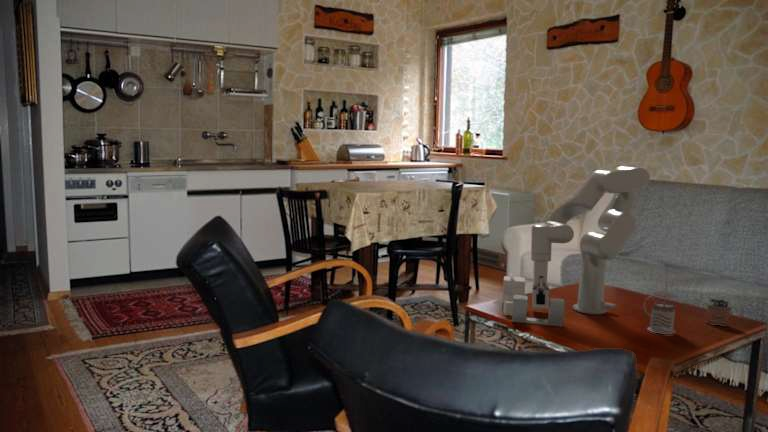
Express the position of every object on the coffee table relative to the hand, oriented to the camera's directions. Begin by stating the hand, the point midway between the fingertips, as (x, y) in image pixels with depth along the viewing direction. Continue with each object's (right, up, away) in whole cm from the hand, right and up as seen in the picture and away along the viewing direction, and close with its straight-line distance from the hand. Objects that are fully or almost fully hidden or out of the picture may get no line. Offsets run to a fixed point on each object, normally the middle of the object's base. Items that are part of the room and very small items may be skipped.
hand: (540, 301), depth 250 cm
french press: (+38, -8, -18) cm, 43 cm away
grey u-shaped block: (-5, -6, -14) cm, 16 cm away
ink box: (-10, -3, +6) cm, 12 cm away
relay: (-13, -4, -4) cm, 14 cm away
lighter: (+65, -8, -7) cm, 66 cm away
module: (0, -2, 0) cm, 2 cm away
